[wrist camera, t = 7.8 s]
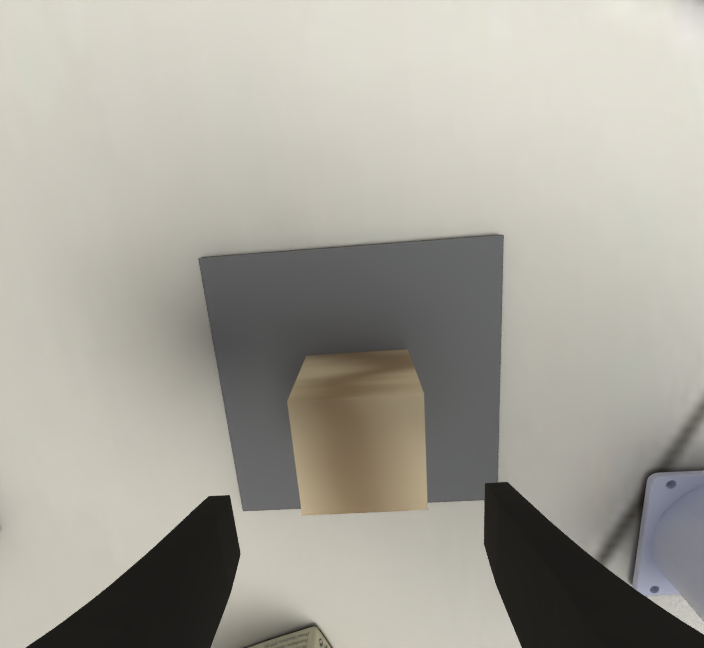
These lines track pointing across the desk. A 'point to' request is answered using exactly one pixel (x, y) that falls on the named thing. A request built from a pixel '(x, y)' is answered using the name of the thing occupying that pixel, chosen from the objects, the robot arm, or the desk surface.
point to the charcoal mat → (361, 349)
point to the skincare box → (297, 640)
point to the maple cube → (359, 433)
